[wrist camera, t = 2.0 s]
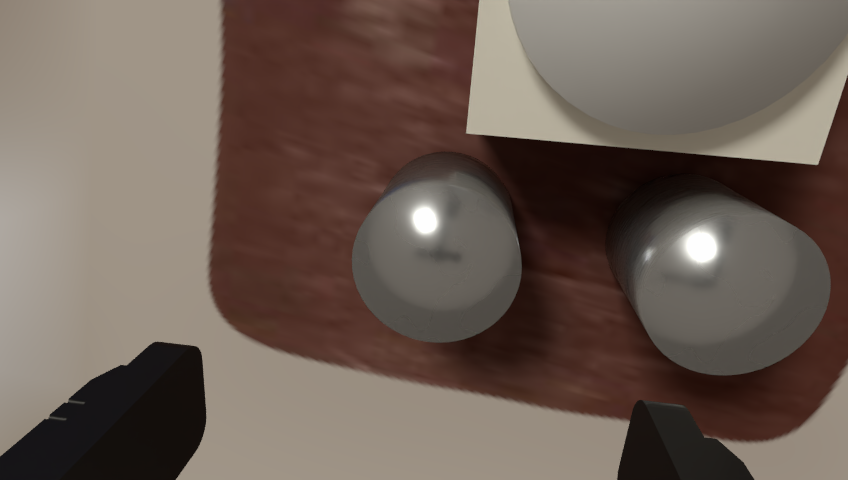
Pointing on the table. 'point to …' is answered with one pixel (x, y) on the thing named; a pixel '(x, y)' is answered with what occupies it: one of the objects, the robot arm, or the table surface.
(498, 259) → the cylinder
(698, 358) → the cylinder
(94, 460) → the robot arm
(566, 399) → the table surface
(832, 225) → the table surface
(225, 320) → the table surface
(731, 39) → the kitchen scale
